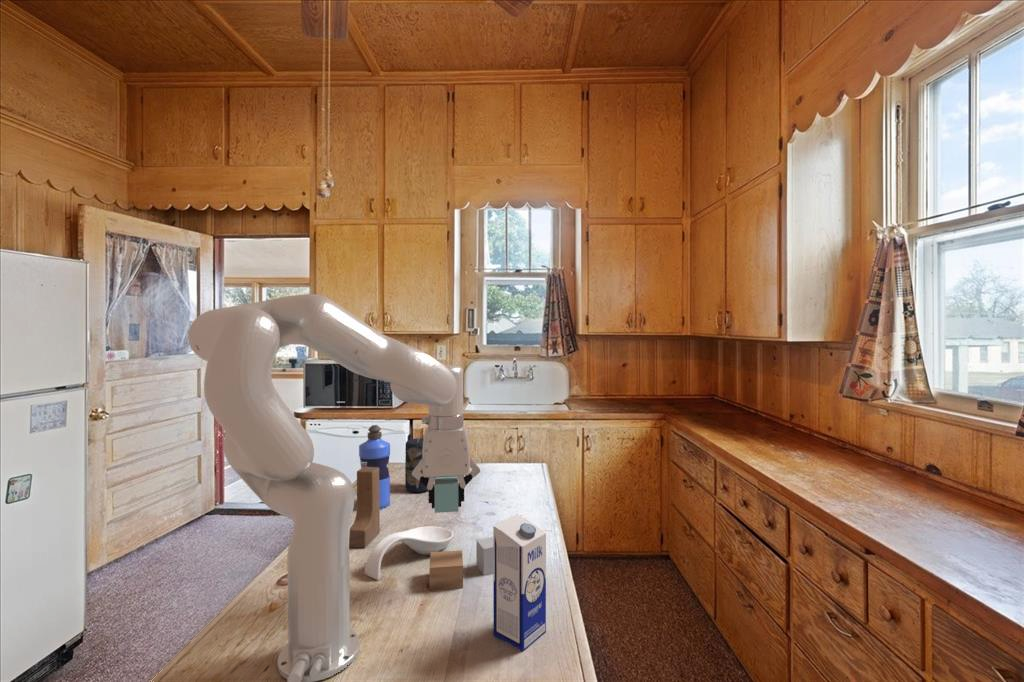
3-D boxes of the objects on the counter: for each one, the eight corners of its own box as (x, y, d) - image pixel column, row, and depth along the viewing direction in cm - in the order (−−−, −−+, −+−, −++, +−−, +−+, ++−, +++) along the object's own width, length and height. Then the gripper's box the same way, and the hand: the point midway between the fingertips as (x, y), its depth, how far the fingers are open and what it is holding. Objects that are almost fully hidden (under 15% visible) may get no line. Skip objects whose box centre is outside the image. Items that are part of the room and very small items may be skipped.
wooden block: (365, 548, 117) (364, 477, 116) (348, 547, 117) (347, 476, 117) (380, 533, 126) (379, 466, 125) (364, 532, 126) (363, 466, 126)
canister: (400, 492, 158) (399, 439, 157) (413, 483, 167) (413, 433, 166) (425, 495, 155) (425, 441, 155) (438, 486, 164) (438, 435, 164)
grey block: (504, 571, 106) (504, 545, 106) (483, 575, 104) (483, 549, 104) (496, 561, 110) (496, 536, 110) (476, 565, 108) (476, 539, 108)
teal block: (458, 511, 99) (458, 483, 99) (434, 512, 99) (434, 484, 99) (457, 502, 104) (457, 476, 104) (435, 504, 104) (434, 477, 104)
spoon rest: (429, 534, 125) (429, 508, 125) (463, 546, 119) (462, 518, 118) (354, 571, 106) (354, 540, 106) (389, 588, 99) (389, 554, 99)
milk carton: (517, 617, 89) (517, 512, 88) (546, 631, 84) (546, 521, 84) (492, 635, 83) (492, 524, 83) (522, 652, 79) (522, 534, 79)
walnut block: (463, 588, 99) (463, 565, 99) (429, 591, 98) (429, 567, 98) (462, 572, 106) (462, 550, 106) (430, 574, 105) (430, 552, 105)
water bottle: (383, 497, 153) (383, 421, 152) (395, 506, 145) (394, 426, 145) (355, 504, 147) (354, 425, 147) (365, 513, 140) (365, 430, 139)
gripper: (404, 427, 96) (405, 514, 97) (486, 424, 99) (487, 509, 99) (407, 420, 104) (407, 501, 104) (483, 417, 106) (484, 497, 106)
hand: (446, 504), depth 102 cm, fingers closed on teal block, 5 cm apart
